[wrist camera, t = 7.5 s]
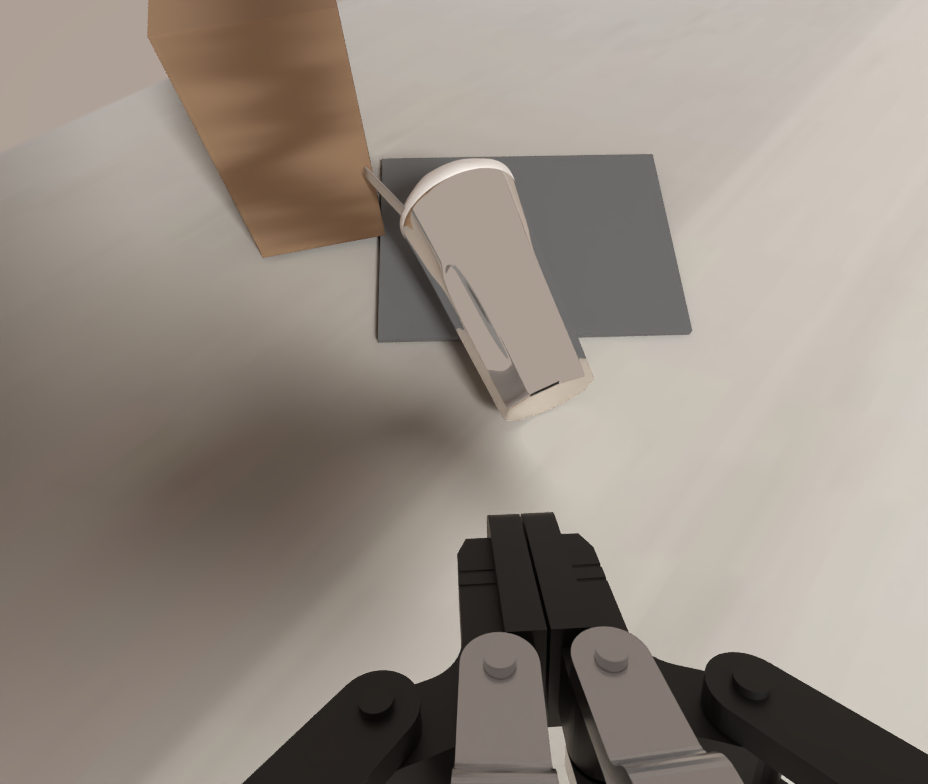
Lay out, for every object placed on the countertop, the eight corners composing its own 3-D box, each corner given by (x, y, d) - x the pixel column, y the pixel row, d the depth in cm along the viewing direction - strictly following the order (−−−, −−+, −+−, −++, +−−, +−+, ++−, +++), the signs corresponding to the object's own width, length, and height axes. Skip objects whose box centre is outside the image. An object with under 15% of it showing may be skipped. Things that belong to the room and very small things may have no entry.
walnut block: (263, 257, 23) (147, 36, 15) (255, 169, 25) (150, -66, 17) (385, 234, 24) (336, 7, 15) (368, 149, 26) (316, -90, 18)
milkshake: (446, 448, 20) (350, 213, 22) (567, 411, 22) (468, 204, 25) (500, 393, 16) (377, 118, 18) (639, 355, 18) (512, 118, 21)
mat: (378, 342, 22) (377, 338, 22) (383, 164, 26) (382, 158, 25) (689, 334, 22) (691, 330, 22) (650, 159, 26) (652, 154, 26)
